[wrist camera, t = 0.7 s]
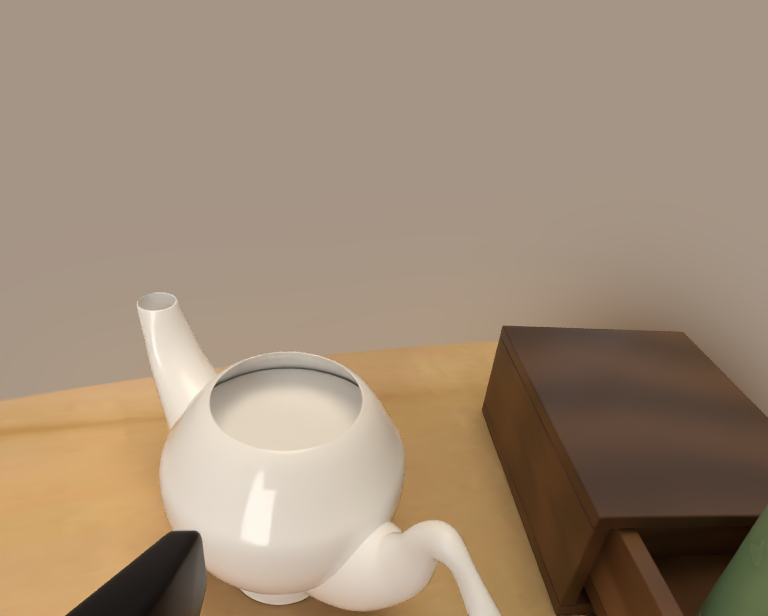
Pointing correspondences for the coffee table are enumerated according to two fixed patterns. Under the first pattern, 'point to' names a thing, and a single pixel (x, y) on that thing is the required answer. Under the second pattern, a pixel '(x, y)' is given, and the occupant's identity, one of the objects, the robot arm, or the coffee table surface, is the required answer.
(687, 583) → the drawer
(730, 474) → the cabinet
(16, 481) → the coffee table surface
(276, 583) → the teapot
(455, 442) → the coffee table surface
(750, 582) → the can
